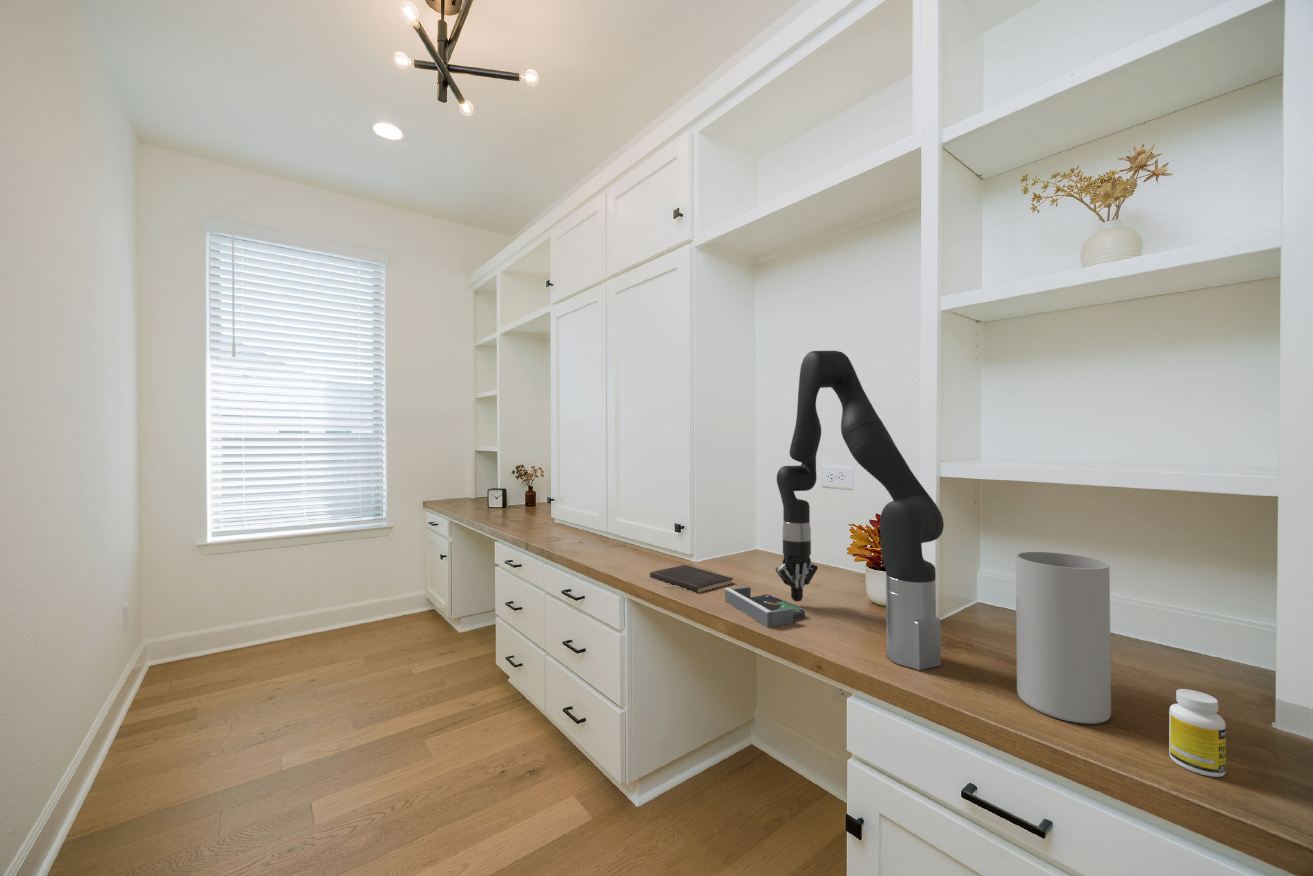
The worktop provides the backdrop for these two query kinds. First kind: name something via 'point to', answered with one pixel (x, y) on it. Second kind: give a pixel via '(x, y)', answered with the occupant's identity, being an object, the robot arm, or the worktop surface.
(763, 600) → the disk drive
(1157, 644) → the worktop surface
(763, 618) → the dock
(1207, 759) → the supplement bottle
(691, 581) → the hardcover book
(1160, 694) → the worktop surface
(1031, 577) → the cylinder vase
